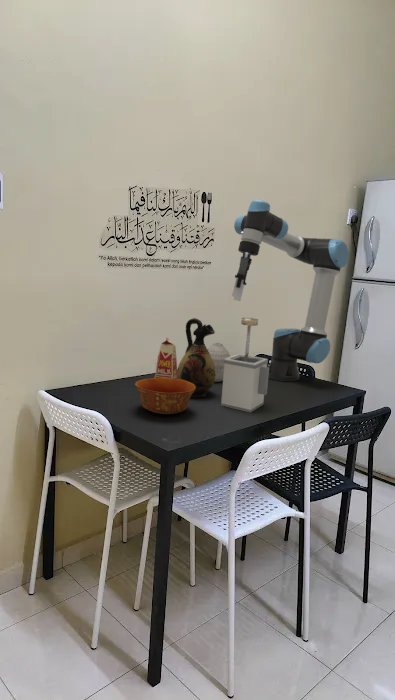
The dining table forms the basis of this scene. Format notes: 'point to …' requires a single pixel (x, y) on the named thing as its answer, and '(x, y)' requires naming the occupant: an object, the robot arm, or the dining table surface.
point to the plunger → (248, 332)
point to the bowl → (165, 394)
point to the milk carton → (167, 361)
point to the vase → (218, 359)
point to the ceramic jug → (197, 360)
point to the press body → (244, 382)
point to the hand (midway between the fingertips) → (236, 298)
